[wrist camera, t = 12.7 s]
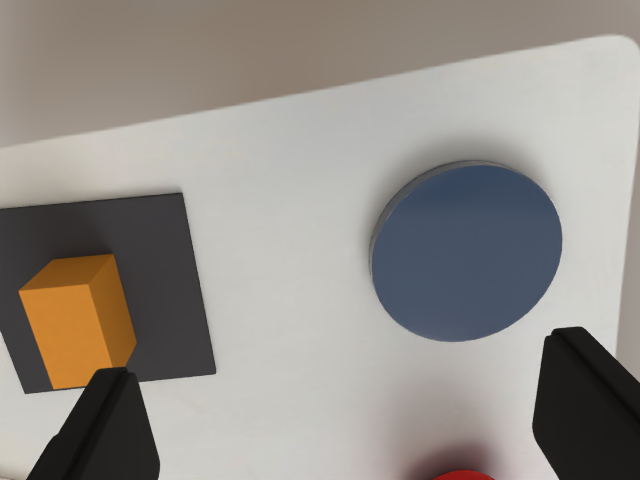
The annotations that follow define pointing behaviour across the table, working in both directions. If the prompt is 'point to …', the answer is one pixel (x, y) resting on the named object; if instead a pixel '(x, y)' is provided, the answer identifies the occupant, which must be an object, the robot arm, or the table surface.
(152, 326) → the mat
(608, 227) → the table surface
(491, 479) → the tomato
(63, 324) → the block
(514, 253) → the plate
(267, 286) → the table surface
